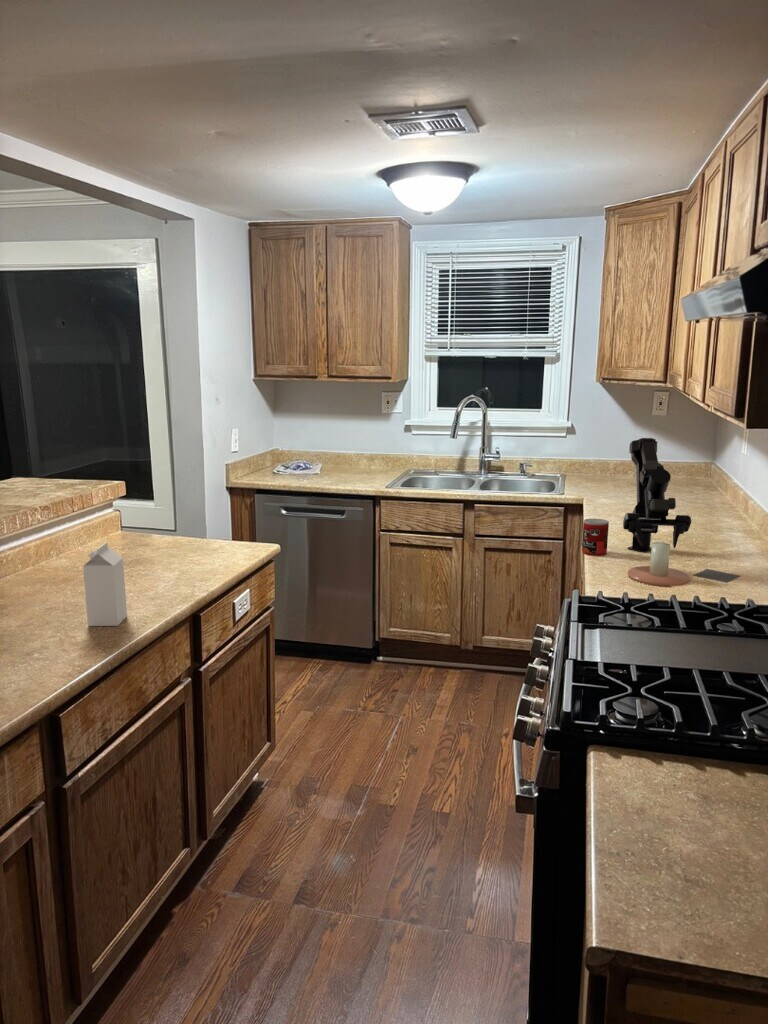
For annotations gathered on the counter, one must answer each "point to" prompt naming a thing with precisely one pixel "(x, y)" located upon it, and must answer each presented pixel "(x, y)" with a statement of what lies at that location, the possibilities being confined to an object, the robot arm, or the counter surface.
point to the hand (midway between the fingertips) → (658, 546)
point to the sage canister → (659, 559)
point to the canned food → (595, 537)
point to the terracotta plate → (658, 577)
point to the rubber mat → (716, 575)
